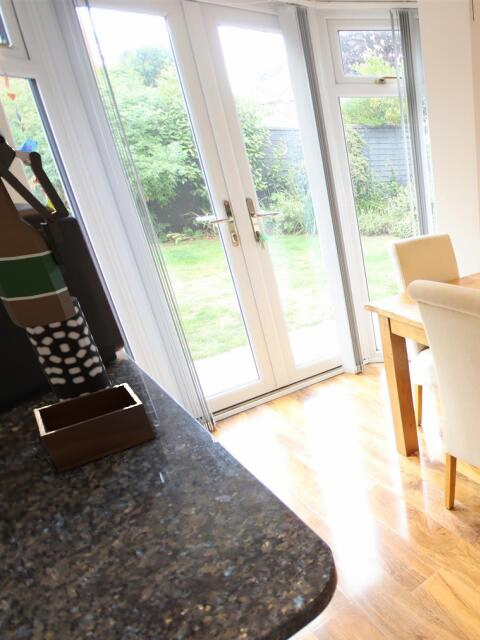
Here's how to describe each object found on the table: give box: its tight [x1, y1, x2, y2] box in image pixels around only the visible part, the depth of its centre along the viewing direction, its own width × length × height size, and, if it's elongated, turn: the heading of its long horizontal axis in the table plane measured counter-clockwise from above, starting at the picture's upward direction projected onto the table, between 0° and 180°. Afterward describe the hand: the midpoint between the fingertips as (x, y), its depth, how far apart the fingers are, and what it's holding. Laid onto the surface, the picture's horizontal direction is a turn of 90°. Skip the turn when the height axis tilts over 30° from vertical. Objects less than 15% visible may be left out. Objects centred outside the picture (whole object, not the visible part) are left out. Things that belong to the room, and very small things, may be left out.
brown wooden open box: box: [33, 382, 156, 474], centre depth 76 cm, size 12×12×7 cm
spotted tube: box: [23, 296, 113, 403], centre depth 88 cm, size 8×8×20 cm
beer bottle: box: [0, 177, 76, 329], centre depth 71 cm, size 8×8×24 cm
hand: (24, 268), depth 72 cm, fingers closed on beer bottle, 8 cm apart
